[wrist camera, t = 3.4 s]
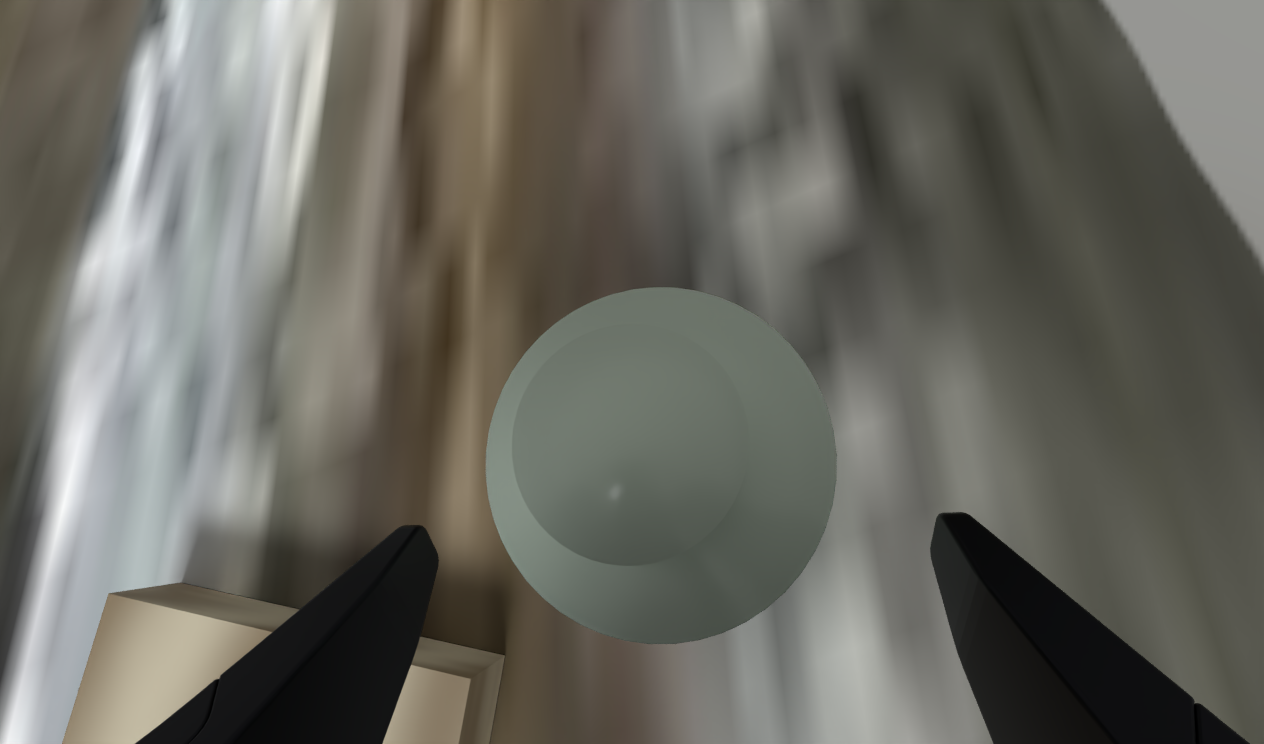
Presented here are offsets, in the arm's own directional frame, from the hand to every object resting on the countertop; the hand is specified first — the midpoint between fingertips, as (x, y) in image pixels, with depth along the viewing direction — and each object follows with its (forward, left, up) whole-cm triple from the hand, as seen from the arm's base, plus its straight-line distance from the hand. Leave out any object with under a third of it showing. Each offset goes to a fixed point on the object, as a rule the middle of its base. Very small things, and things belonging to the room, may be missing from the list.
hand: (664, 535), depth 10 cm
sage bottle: (0, -1, -9) cm, 9 cm away
